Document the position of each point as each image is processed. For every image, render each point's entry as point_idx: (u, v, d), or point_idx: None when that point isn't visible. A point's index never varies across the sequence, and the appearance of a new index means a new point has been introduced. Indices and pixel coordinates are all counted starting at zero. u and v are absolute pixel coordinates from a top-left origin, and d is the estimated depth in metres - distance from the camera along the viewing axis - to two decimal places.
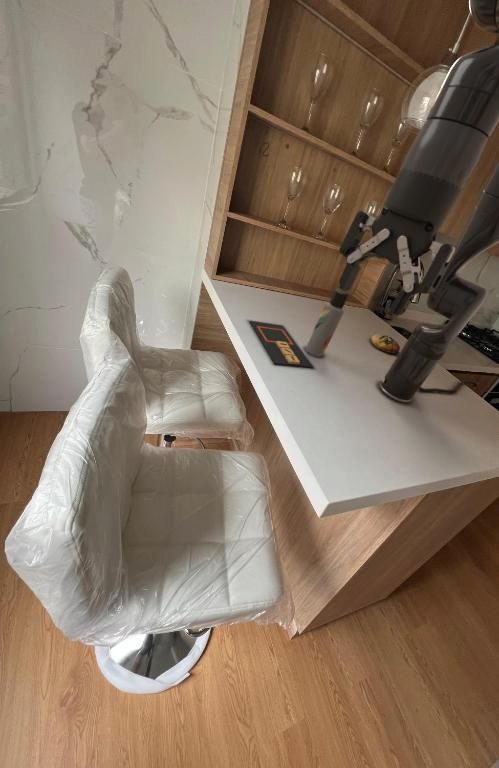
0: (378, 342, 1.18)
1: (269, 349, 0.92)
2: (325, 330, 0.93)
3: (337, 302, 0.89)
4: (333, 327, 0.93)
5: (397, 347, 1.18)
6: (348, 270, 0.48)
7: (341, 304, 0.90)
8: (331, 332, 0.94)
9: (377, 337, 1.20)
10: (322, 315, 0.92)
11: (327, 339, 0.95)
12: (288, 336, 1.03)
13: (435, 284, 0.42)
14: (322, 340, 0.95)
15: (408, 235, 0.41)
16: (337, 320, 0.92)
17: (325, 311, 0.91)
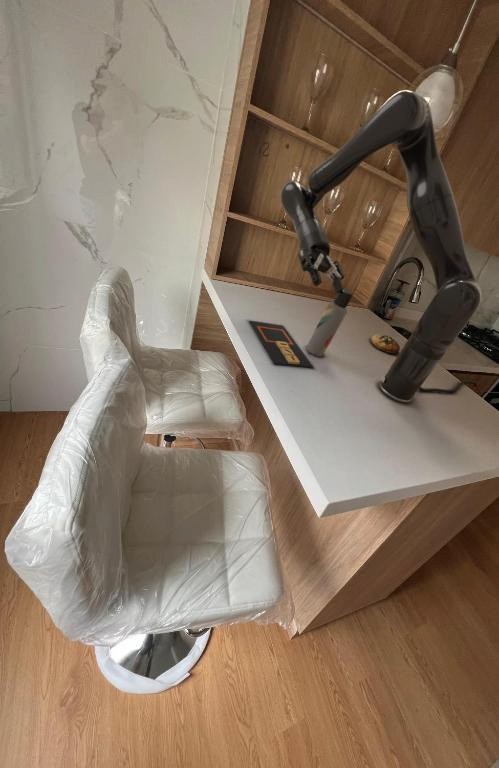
0: (378, 342, 1.18)
1: (269, 349, 0.92)
2: (328, 329, 0.93)
3: (341, 302, 0.90)
4: (335, 326, 0.93)
5: (397, 347, 1.18)
6: None
7: (345, 304, 0.90)
8: (333, 331, 0.94)
9: (377, 337, 1.20)
10: (325, 314, 0.93)
11: (329, 338, 0.95)
12: (288, 336, 1.03)
13: (307, 261, 0.83)
14: (324, 339, 0.95)
15: None
16: (340, 320, 0.92)
17: (329, 310, 0.92)
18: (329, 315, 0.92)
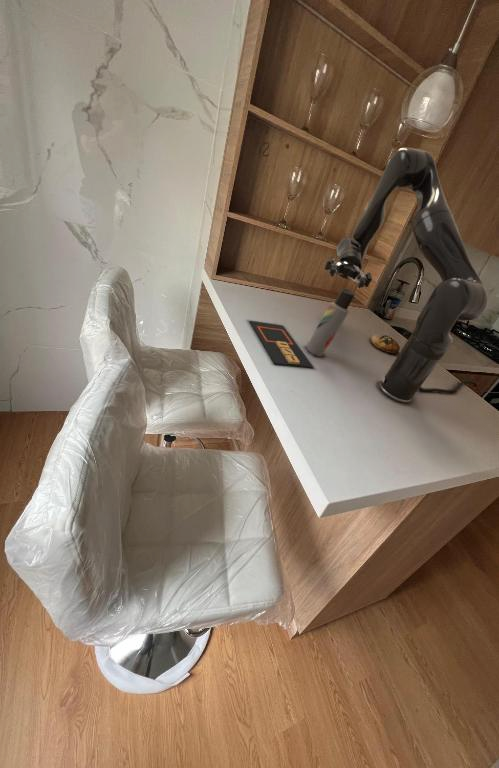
0: (378, 342, 1.18)
1: (269, 349, 0.92)
2: (329, 330, 0.93)
3: (343, 302, 0.90)
4: (336, 327, 0.93)
5: (397, 347, 1.18)
6: (359, 285, 0.97)
7: (346, 304, 0.90)
8: (334, 332, 0.94)
9: (377, 337, 1.20)
10: (326, 314, 0.93)
11: (329, 339, 0.95)
12: (288, 336, 1.03)
13: None
14: (324, 339, 0.95)
15: None
16: (341, 320, 0.92)
17: (330, 310, 0.92)
18: (330, 315, 0.92)
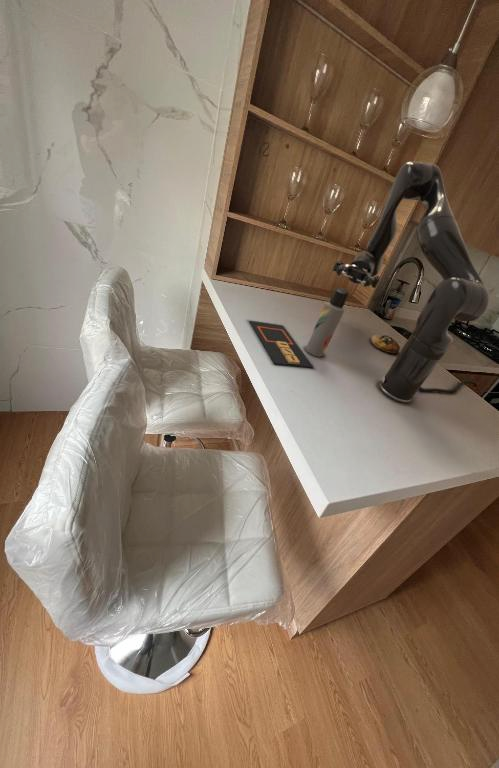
0: (378, 342, 1.18)
1: (269, 349, 0.92)
2: (326, 330, 0.93)
3: (338, 302, 0.90)
4: (333, 327, 0.93)
5: (397, 347, 1.18)
6: None
7: (341, 303, 0.90)
8: (331, 332, 0.94)
9: (377, 337, 1.20)
10: (322, 315, 0.93)
11: (327, 339, 0.95)
12: (288, 336, 1.03)
13: None
14: (322, 340, 0.95)
15: None
16: (337, 319, 0.92)
17: (325, 311, 0.91)
18: (326, 316, 0.92)
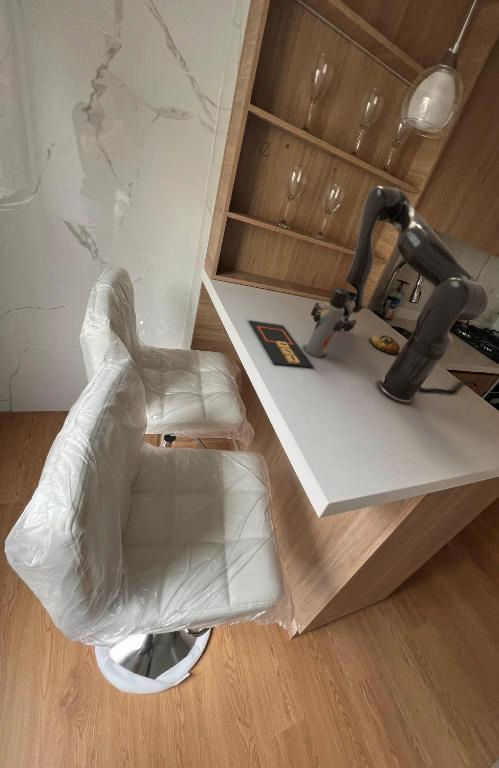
0: (378, 342, 1.18)
1: (269, 349, 0.92)
2: (325, 330, 0.93)
3: (337, 302, 0.89)
4: (333, 327, 0.93)
5: (397, 347, 1.18)
6: None
7: (341, 304, 0.89)
8: (331, 332, 0.94)
9: (377, 337, 1.20)
10: (322, 315, 0.92)
11: (327, 339, 0.95)
12: (288, 336, 1.03)
13: (314, 308, 0.98)
14: (322, 340, 0.95)
15: None
16: (337, 320, 0.91)
17: (325, 311, 0.91)
18: (325, 316, 0.91)
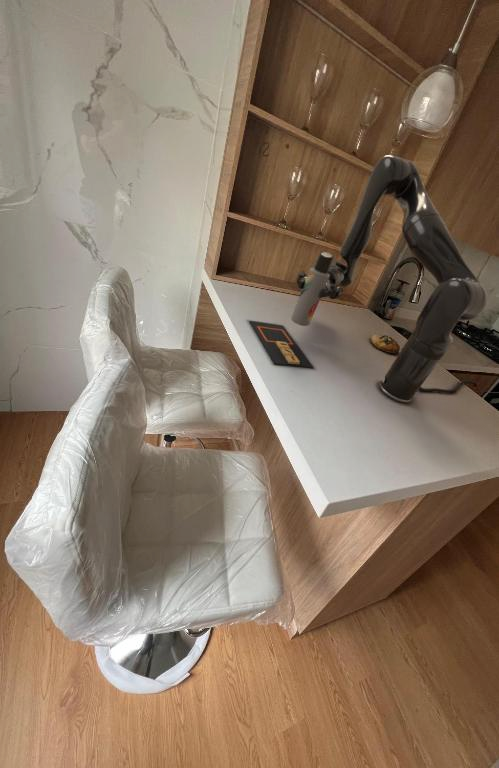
0: (378, 342, 1.18)
1: (269, 349, 0.92)
2: (310, 297, 0.90)
3: (322, 266, 0.86)
4: (318, 293, 0.89)
5: (397, 347, 1.18)
6: None
7: (325, 268, 0.86)
8: (316, 299, 0.90)
9: (377, 337, 1.20)
10: (306, 281, 0.89)
11: (312, 307, 0.91)
12: (288, 336, 1.03)
13: None
14: (307, 308, 0.91)
15: None
16: (322, 286, 0.88)
17: (309, 276, 0.88)
18: (310, 282, 0.88)
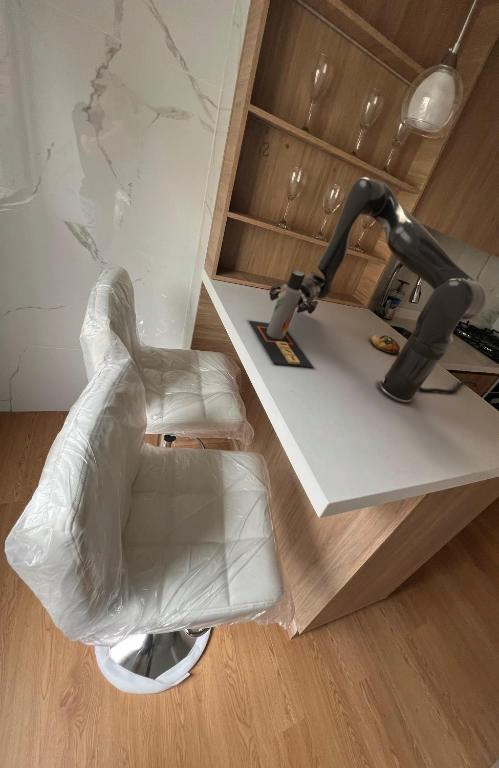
0: (378, 342, 1.18)
1: (269, 349, 0.92)
2: (283, 312, 0.94)
3: (293, 284, 0.90)
4: (291, 309, 0.93)
5: (397, 347, 1.18)
6: None
7: (297, 286, 0.90)
8: (289, 314, 0.94)
9: (377, 337, 1.20)
10: (280, 297, 0.93)
11: (285, 321, 0.95)
12: (288, 336, 1.03)
13: None
14: (280, 322, 0.95)
15: None
16: (294, 302, 0.92)
17: (282, 293, 0.92)
18: (283, 298, 0.92)
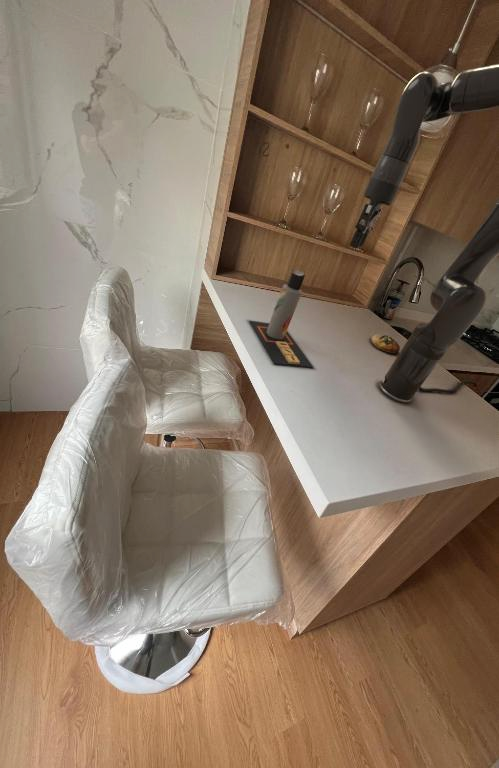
0: (378, 342, 1.18)
1: (269, 349, 0.92)
2: (283, 312, 0.94)
3: (293, 284, 0.90)
4: (291, 309, 0.93)
5: (397, 347, 1.18)
6: None
7: (297, 286, 0.90)
8: (289, 314, 0.94)
9: (377, 337, 1.20)
10: (280, 297, 0.93)
11: (286, 321, 0.95)
12: (288, 336, 1.03)
13: (364, 225, 0.83)
14: (281, 322, 0.95)
15: None
16: (294, 302, 0.92)
17: (282, 293, 0.92)
18: (283, 298, 0.92)
